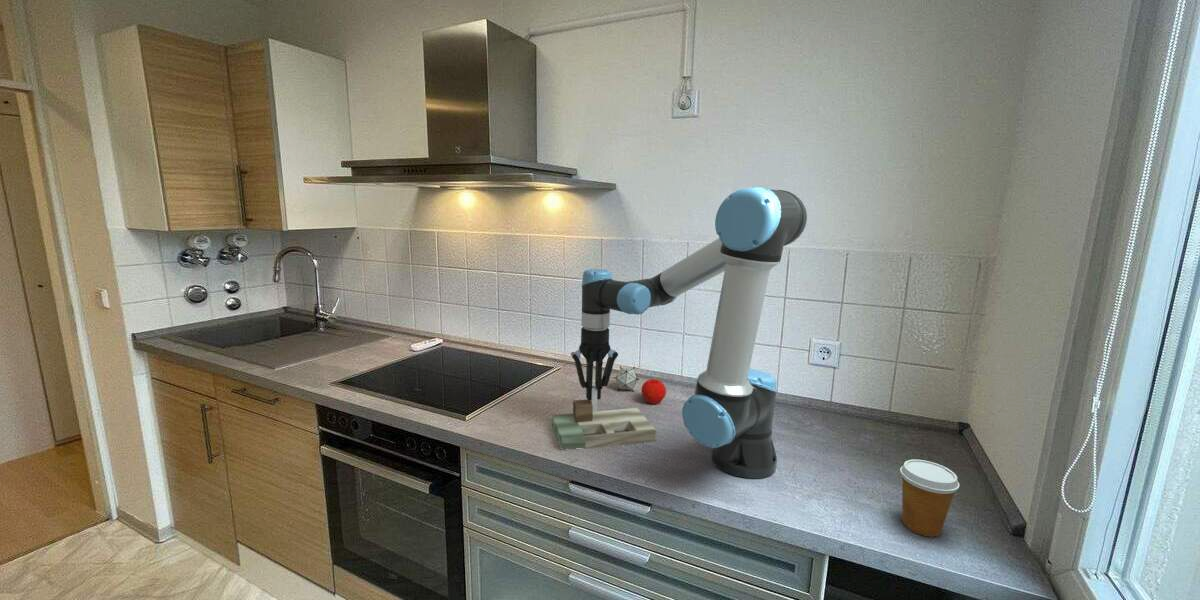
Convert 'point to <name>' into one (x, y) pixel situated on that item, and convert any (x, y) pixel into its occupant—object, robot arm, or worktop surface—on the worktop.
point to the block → (582, 410)
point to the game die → (626, 378)
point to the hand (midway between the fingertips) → (593, 410)
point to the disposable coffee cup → (926, 496)
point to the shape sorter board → (603, 429)
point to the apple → (653, 391)
